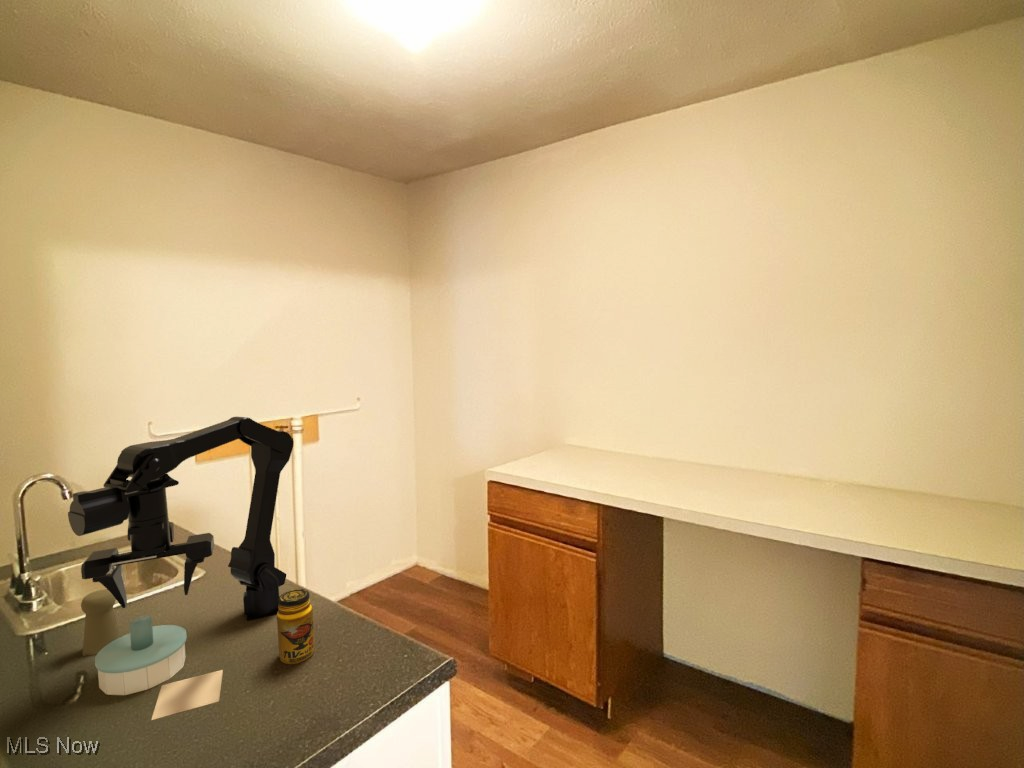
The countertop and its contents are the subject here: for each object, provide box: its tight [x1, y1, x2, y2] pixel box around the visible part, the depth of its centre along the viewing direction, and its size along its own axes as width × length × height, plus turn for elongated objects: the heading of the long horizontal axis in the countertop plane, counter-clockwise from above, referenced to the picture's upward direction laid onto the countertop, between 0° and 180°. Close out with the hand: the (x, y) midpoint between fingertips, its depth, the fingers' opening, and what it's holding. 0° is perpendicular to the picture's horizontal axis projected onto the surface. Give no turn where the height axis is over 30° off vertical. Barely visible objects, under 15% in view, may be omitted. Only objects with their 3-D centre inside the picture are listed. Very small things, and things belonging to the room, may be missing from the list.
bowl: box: [97, 642, 186, 696], centre depth 90 cm, size 12×12×4 cm
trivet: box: [150, 669, 224, 721], centre depth 84 cm, size 9×9×1 cm
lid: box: [94, 615, 188, 673], centre depth 90 cm, size 13×13×5 cm
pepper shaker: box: [80, 588, 122, 657], centre depth 98 cm, size 6×6×11 cm
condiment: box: [276, 588, 316, 665], centre depth 94 cm, size 7×8×12 cm
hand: (156, 600), depth 92 cm, fingers open, 9 cm apart
